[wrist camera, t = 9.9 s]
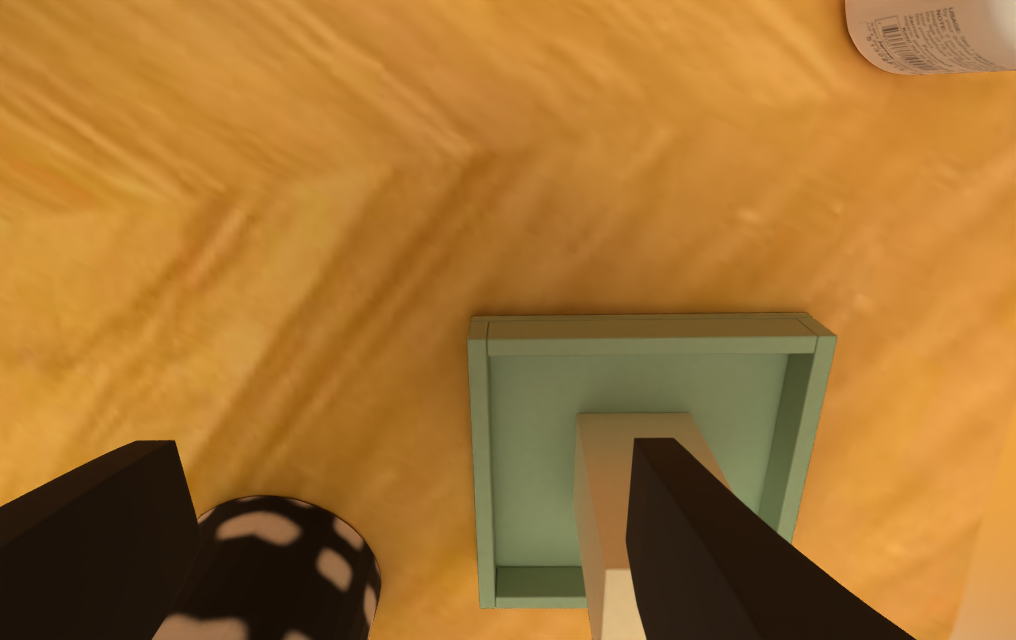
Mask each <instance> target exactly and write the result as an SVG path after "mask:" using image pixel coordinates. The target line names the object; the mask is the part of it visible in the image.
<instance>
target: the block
mask: <svg viewBox="0 0 1016 640" xmlns="http://www.w3.org/2000/svg"><path fill="white" fill-rule="evenodd" d="M634 438H675V439H676V440H677V441H678V442H679V443H680V444H681V445H682V446H683V447H684V448H686V449H687V450H688V451H689V452H690V453H691V454H692V455H693V456H694V457H695V458H696V459H697V460H698V461H699V462H700V463H701V464H702V465H703V466H704V467H705V468H707V469H708V470H709V471H710V472H711V473H712V474H713V475H714V476H715V477H716V478H717V479H718V480H719V481H720V482H721V483H722V484H724V485H725V486H726V487H727V488H728V489H729V490H730V491H731V492H732V493H733V491H732V489H731V487H730V485H729V483H728V481H727V480H726V478H725V476H724V474H723V472H722V470H721V469H720V467H719V465H718V463H717V461H716V459H715V458H714V456H713V454H712V452H711V450H710V448H709V446H708V445H707V443H706V441H705V439H704V437H703V435H702V434H701V432H700V430H699V428H698V426H697V424H696V423H695V421H694V419H693V417H692V415H691V413H588V414H577V415H576V438H575V468H574V497H573V506H574V513H575V520H576V527H577V534H578V541H579V549H580V556H581V563H582V570H583V577H584V584H585V591H586V599H587V606H588V613H589V620H590V627H591V634H592V640H646V636H645V633H644V629H643V626H642V622H641V619H640V615H639V612H638V608H637V604H636V599H635V594H634V588H633V583H632V577H631V571H630V565H629V559H628V553H627V547H626V541H625V539H626V527H627V516H628V504H629V492H630V480H631V468H632V456H633V444H634ZM733 494H734V493H733ZM734 495H735V494H734Z"/></svg>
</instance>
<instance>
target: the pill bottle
mask: <svg viewBox="0 0 1016 640" xmlns="http://www.w3.org/2000/svg"><path fill="white" fill-rule="evenodd" d="M845 12H846V19H847V26H848V32H849V34H850V36H851V38H852V40H853V42H854V44H855V46H856V48H857V49H858V50H859V52H860V53H861V54H862V55H863V56H864V57H865V58H866V59H867V60H868V61H869V62H871V63H872V64H873V65H875V66H876V67H878V68H879V69H882V70H884V71H887V72H891V73H895V74H902V75H927V74H949V73H972V72H995V71H1016V0H845Z"/></svg>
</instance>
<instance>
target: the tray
mask: <svg viewBox="0 0 1016 640" xmlns="http://www.w3.org/2000/svg"><path fill="white" fill-rule="evenodd" d="M836 342H837V335H835V334H834V333H833V332H831V331H830V330H829V329H827V328H826V327H825V326H823V325H822V324H821V323H819V322H818V321H817V320H816V319H814V318H813V317H812V316H810V315H809V314H808V313H716V314H622V315H528V316H472V317H471V323H470V327H469V333H468V338H467V353H468V374H469V395H470V416H471V436H472V457H473V478H474V499H475V519H476V540H477V561H478V582H479V602H480V608H481V609H494V608H495V607H496V608H588V606H587V599H586V591H585V584H584V577H583V570H582V563H581V556H580V549H579V541H578V534H577V527H576V520H575V513H574V506H573V497H574V468H575V438H576V415H577V414H588V413H691V415H692V417H693V419H694V421H695V423H696V424H697V426H698V428H699V430H700V432H701V434H702V435H703V437H704V439H705V441H706V443H707V445H708V446H709V448H710V450H711V452H712V454H713V456H714V458H715V459H716V461H717V463H718V465H719V467H720V469H721V470H722V472H723V474H724V476H725V478H726V480H727V481H728V483H729V485H730V487H731V489H732V491H733V493H734V494H735V496H736V497H738V498H739V499H740V500H741V501H742V502H743V503H744V504H745V505H746V506H747V507H749V508H750V509H751V510H752V511H753V512H754V513H755V514H756V515H758V516H759V517H760V518H761V519H762V520H763V521H764V522H765V523H767V524H768V525H769V526H770V527H771V528H772V529H773V530H775V531H776V532H777V533H778V534H779V535H780V536H782V537H783V538H784V539H785V540H786V541H788V542H789V543H790V544H791V543H792V538H793V534H794V529H795V525H796V520H797V516H798V512H799V507H800V503H801V498H802V494H803V489H804V485H805V480H806V476H807V471H808V467H809V462H810V458H811V453H812V449H813V445H814V440H815V436H816V431H817V427H818V422H819V418H820V413H821V409H822V404H823V400H824V395H825V391H826V386H827V382H828V377H829V373H830V369H831V364H832V360H833V355H834V351H835V346H836Z"/></svg>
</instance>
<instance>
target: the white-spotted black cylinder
mask: <svg viewBox="0 0 1016 640" xmlns="http://www.w3.org/2000/svg"><path fill="white" fill-rule="evenodd" d="M197 521H198V525H199V528H200V532H201V535H202V539H203V544H202V546H201V548H200V550H199V553H198V555H197V557H196V559H195V561H194V564H193V566H192V568H191V570H190V573H189V575H188V577H187V579H186V581H185V583H184V585H183V587H182V589H181V591H180V593H179V595H178V597H177V599H176V601H175V603H174V605H173V607H172V608H171V610H170V611H169V613H168V615H167V616H166V618H165V620H164V621H163V623H162V624H161V626H160V628H159V629H158V631H157V632H156V634H155V635H154V637H153V639H152V640H368V639H369V635H370V631H371V628H372V624H373V620H374V616H375V613H376V609H377V605H378V602H379V597H380V590H381V579H380V570H379V568H378V565H377V562H376V560H375V557H374V555H373V553H372V552H371V550H370V549H369V547H368V546H367V544H366V543H365V541H364V540H363V539H362V538H361V537H360V536H359V535H358V534H357V533H356V532H355V531H354V530H353V529H352V528H351V527H350V526H349V525H347V524H346V523H344V522H343V521H342V520H340V519H339V518H337V517H336V516H334V515H332V514H330V513H328V512H326V511H324V510H322V509H320V508H318V507H316V506H313V505H310V504H307V503H304V502H301V501H298V500H293V499H287V498H281V497H258V496H254V497H248V498H242V499H236V500H232V501H230V502H227V503H224V504H221V505H218V506H216V507H215V508H213V509H211V510H210V511H208V512H206V513H205V514H203V515H202V516H201V517H200V518H199V519H198V520H197Z"/></svg>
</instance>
